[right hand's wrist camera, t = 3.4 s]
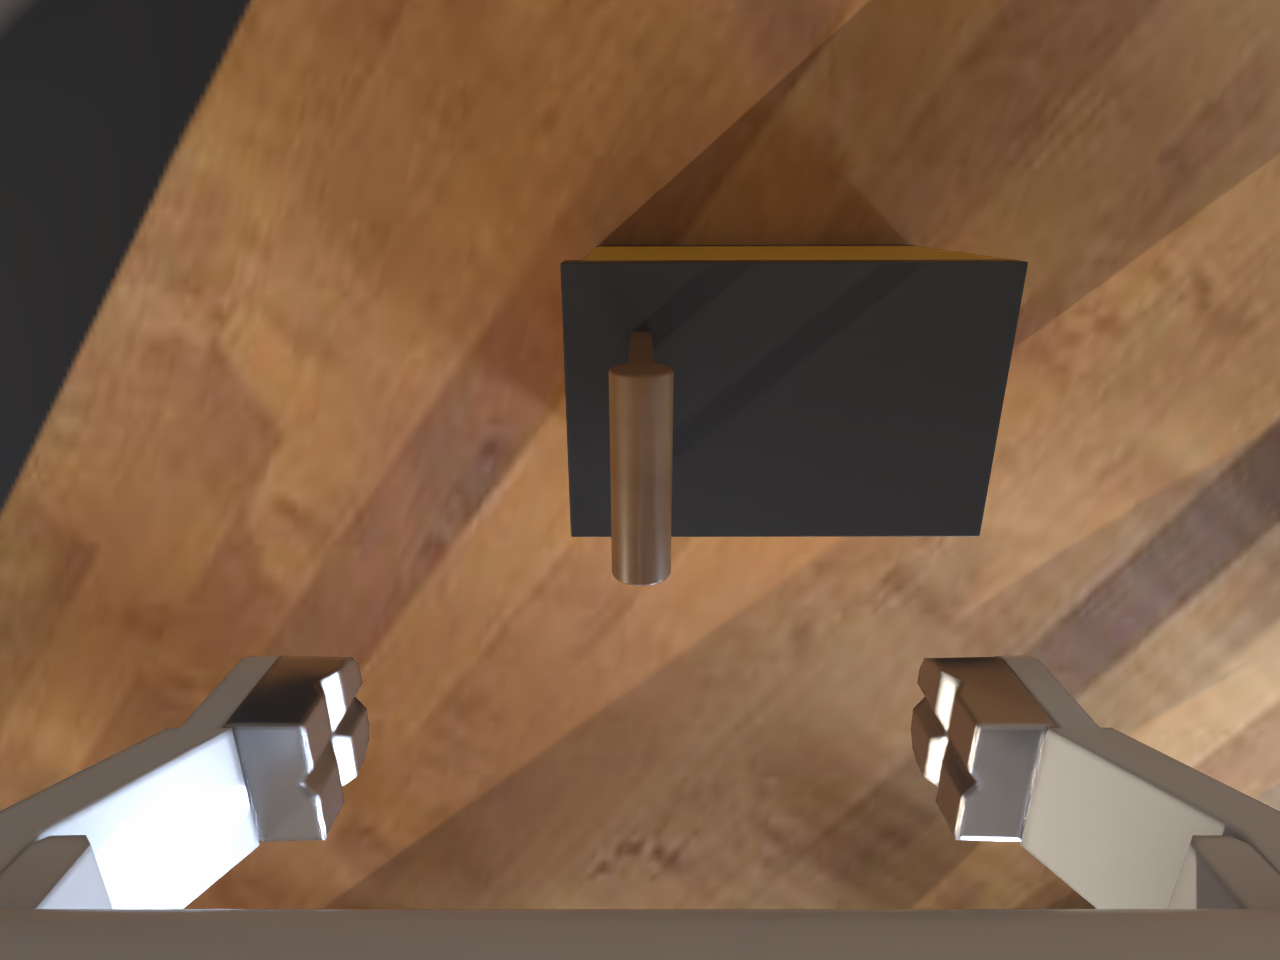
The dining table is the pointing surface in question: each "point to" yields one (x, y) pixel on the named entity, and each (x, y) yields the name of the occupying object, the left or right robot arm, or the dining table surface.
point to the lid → (781, 398)
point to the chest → (777, 252)
